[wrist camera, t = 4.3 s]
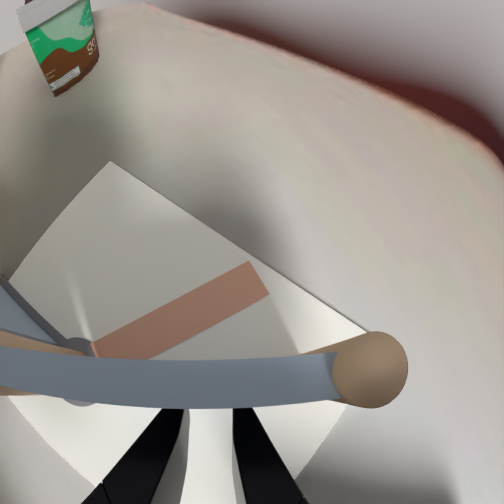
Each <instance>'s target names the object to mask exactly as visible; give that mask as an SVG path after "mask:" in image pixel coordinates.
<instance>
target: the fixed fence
mask: <svg viewBox="0 0 504 504" xmlns="http://www.w3.org/2000/svg"><path fill="white" fill-rule="evenodd" d="M0 346H5V347H12V348H18V349H25V350H32V351H40V352H48V353H57V354H67V355H77V356H88V355H87V354H86V353H84V352H81V351H77V350H72V349H68V348H63V347H59V346H57V343H56V342H55V341H54V340H53V339H52V338H51V337H50V336H49V335H48V334H47V333H46V332H45V331H44V330H42V329H41V328H40V327H39V326H38V325H37V324H36V323H35V322H34V321H33V320H32V319H31V318H30V317H29V316H28V315H27V314H26V312H25V311H24V310H23V309H22V308H21V307H20V306H19V305H18V304H17V303H16V302H15V301H14V300H13V299H12V298H11V296H10V295H9V294H8V293H7V292H6V291H5V290H4V289H3V287H2V281H1V278H0ZM0 395H3V396H28V395H40V394H35V393H30V392H26V391H21V390H17V389H12V388H8V387H4V386H0Z"/></svg>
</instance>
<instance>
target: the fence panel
mask: <svg viewBox="0 0 504 504" xmlns="http://www.w3.org/2000/svg"><path fill="white" fill-rule="evenodd" d="M407 374H408V361H407V357H406V354H405V351H404V349H403V347H402V346H401V344H400V343H399V342H398V341H397V340H396V339H395V338H394V337H392V336H390V335H389V334H386V333H383V332H377V331H375V332H367V333H364V334H361V335H359V336H356V337H353V338H350V339H347V340H344V341H341V342H338V343H335V344H332V345H328V346H325V347H322V348H319V349H316V350H312V351H309V352H306V353H302V354H299V355H295V356H285V357H271V358H254V359H231V360H141V359H119V358H102V357H89V356H77V355H67V354H57V353H48V352H40V351H32V350H25V349H18V348H12V347H5V346H0V386H4V387H8V388H12V389H17V390H21V391H26V392H30V393H35V394H40V395H46V396H51V397H57V398H63V399H69V400H76V401H83V402H91V403H99V404H109V405H119V406H131V407H146V408H167V409H230V408H252V407H267V406H279V405H290V404H299V403H308V402H316V401H324V400H330V401H335V402H339V403H344V404H349V405H353V406H358V407H363V408H378V407H382V406H384V405H387V404H388V403H390V402H391V401H392V400H394V399H395V398H396V397H397V396H398V395H399V393H400V392H401V390H402V389H403V387H404V385H405V382H406V379H407Z"/></svg>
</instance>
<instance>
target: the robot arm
mask: <svg viewBox="0 0 504 504" xmlns="http://www.w3.org/2000/svg"><path fill="white" fill-rule="evenodd" d="M189 429H190V412H189V409H167V408H162V409H161V410H160V411H159V412H158V414H157V415H156V416H155V417H154V419H153V420H152V421H151V422H150V423H149V425H148V426H147V427H146V428H145V430H144V431H143V432H142V433H141V434H140V436H139V437H138V438H137V439H136V440H135V442H134V443H133V444H132V445H131V447H130V448H129V449H128V450H127V451H126V453H125V454H124V455H123V456H122V457H121V459H120V460H119V461H118V462H117V463H116V464H115V466H114V467H113V468H112V469H111V470H110V472H109V473H108V474H107V475H106V476H105V478H104V479H103V480H102V483H99V484H98V486H97V487H96V488H95V489H94V490H93V491H92V493H91V494H90V495H89V496H88V497H87V498H86V499H85V500H84V501H83V502H82V503H81V504H180V501H181V496H182V491H183V486H184V481H185V476H186V470H187V461H188V444H189ZM232 474H233V482H234V489H235V496H236V502H237V504H309V502H308V501H307V499H306V498H305V497H303V496H304V495H303V493H302V491H301V490H300V488H299V487H298V485H297V483H296V482H295V480H294V479H293V477H292V475H291V474H290V472H289V470H288V469H287V467H286V465H285V464H284V462H283V460H282V459H281V457H280V455H279V453H278V452H277V450H276V448H275V447H274V445H273V443H272V441H271V440H270V438H269V436H268V434H267V433H266V431H265V429H264V427H263V425H262V424H261V422H260V420H259V418H258V416H257V415H256V413H255V411H254V409H253V407H252V408H232Z"/></svg>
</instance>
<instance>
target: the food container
mask: <svg viewBox="0 0 504 504" xmlns="http://www.w3.org/2000/svg"><path fill="white" fill-rule="evenodd" d="M17 13H18V18H19V21H20V24H21V27H22V30H23V33H25V34H26V36H27V38H28V41H29V43H30V45H31V47H32V50H33V52H34V54H35V56H36V59H37V61H38V63H39V65H40V67H41V69H42V71H43V73H44V76H45V78H46V80H47V82H48V84H49V86H50V88H51V90H52V92H53V94H54V96H55V97H56V96H58V95H59V94H61V93H63V92H65V91H67V90H68V89H69V88H71V87H72V86H74V85H75V84H76V83H78V82H79V81H81V80H82V79H83V78H84V77H85V76H86V75H87V74H88V73H89V72H90V71H91V70H92V69H93V67H94V66H95V64H96V63H97V62H98V58H99V51H98V46H97V41H96V36H95V30H94V24H93V18H92V12H91V6H90V0H25V5H24V6H22V7H21V8H19V9H17Z"/></svg>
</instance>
